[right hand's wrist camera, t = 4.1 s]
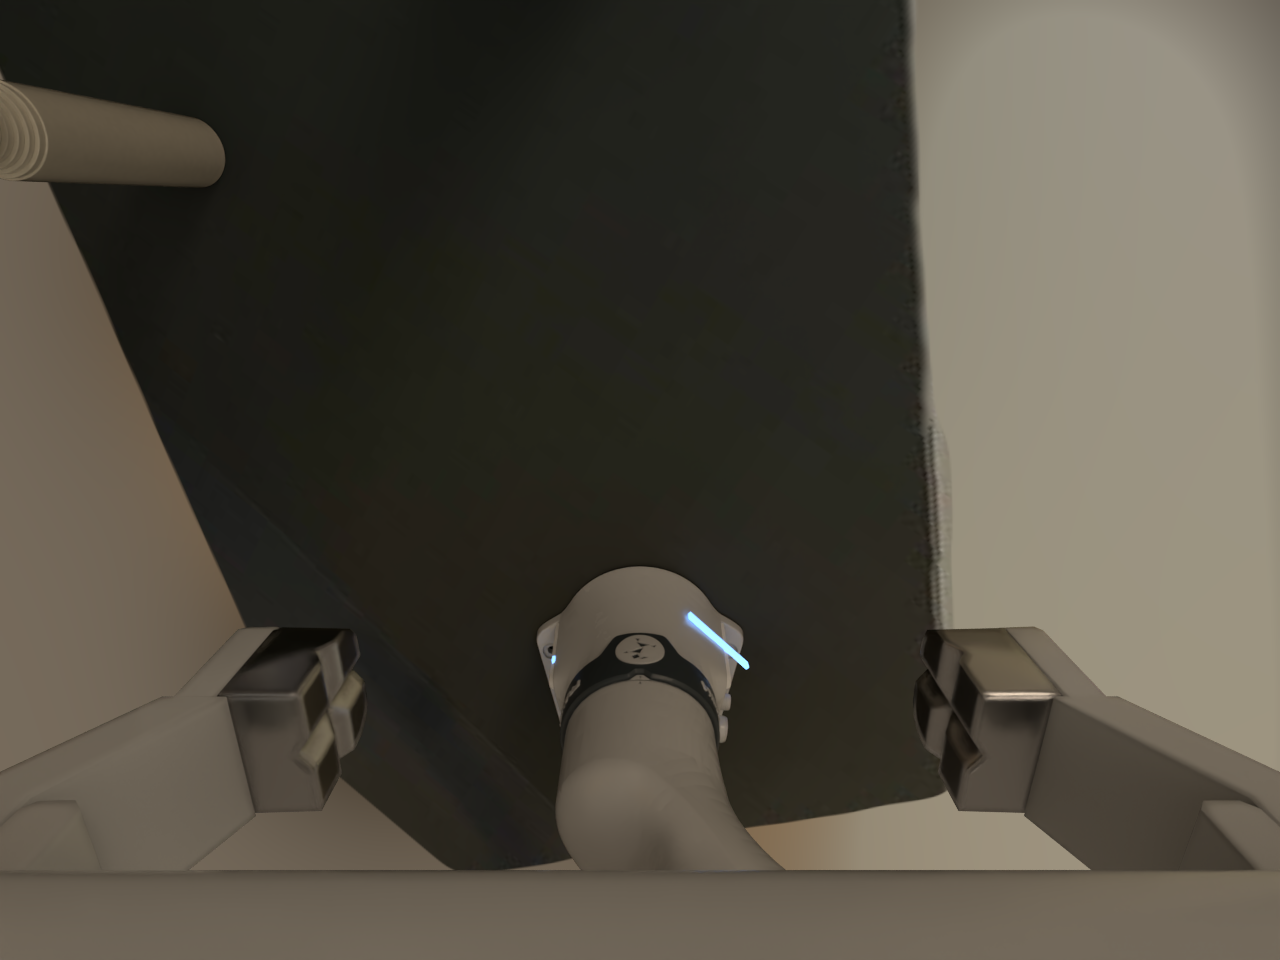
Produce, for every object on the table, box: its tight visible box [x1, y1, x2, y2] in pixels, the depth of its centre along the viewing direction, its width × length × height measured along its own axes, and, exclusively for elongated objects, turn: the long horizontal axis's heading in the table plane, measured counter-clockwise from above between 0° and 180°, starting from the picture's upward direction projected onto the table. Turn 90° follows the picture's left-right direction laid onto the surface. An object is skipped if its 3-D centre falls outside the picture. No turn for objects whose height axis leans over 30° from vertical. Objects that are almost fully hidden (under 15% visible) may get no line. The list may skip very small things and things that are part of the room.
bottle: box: [0, 80, 225, 188], centre depth 42 cm, size 5×5×21 cm
